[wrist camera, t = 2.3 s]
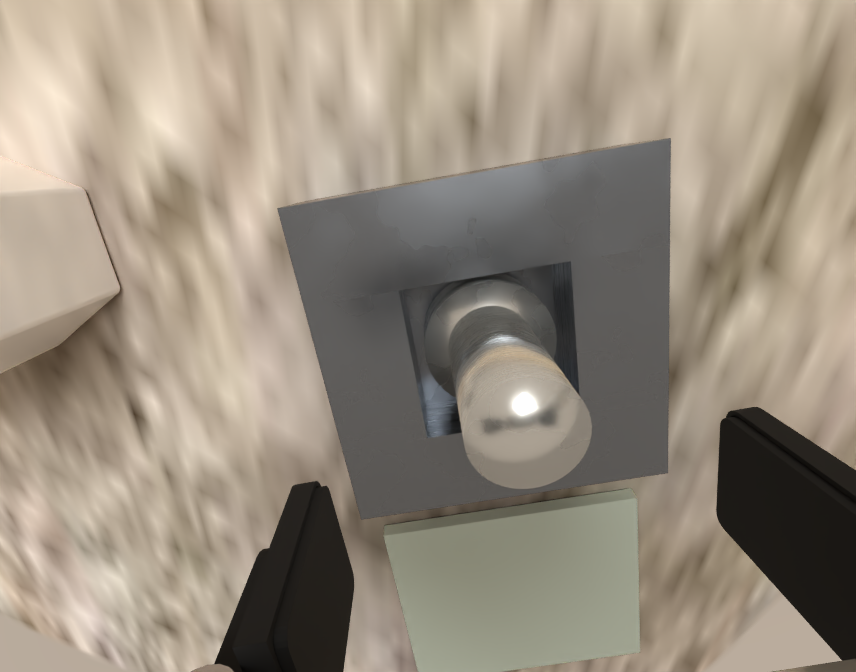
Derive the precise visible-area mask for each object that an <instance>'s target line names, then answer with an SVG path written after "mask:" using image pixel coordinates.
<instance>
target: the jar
mask: <svg viewBox="0 0 856 672" xmlns="http://www.w3.org/2000/svg"><path fill="white" fill-rule="evenodd" d="M119 291H120V285H119V282H118V280H117V277H116V274H115V272H114V269H113V266H112V263H111V261H110V258H109V255H108V252H107V250H106V247H105V244H104V241H103V238H102V236H101V233H100V230H99V227H98V225H97V222H96V219H95V216H94V213H93V211H92V208H91V205H90V202H89V199H88V196H87V194H86V191H85V190H84V189H83V188H81V187H79V186H77V185H74V184H72V183H69V182H67V181H64V180H61V179H59V178H56V177H54V176H51V175H49V174H46V173H44V172H41V171H39V170H36V169H33V168H31V167H28V166H26V165H23V164H21V163H18V162H16V161H13V160H11V159H8V158H5V157H3V156H0V374H1V373H3V372H5V371H7V370H9V369H11V368H13V367H16V366H18V365H20V364H22V363H24V362H26V361H28V360H30V359H32V358H34V357H36V356H38V355H40V354H42V353H44V352H46V351H49V350H51V349H53V348H55V347H57V346H59V345H60V344H61V343H62V342H63V341H64V340H66V339H67V338H68V337H69V336H70V335H71V334H72V333H73V332H75V331H76V330H77V329H78V328H79V327H80V326H81V325H82V324H84V323H85V322H86V321H87V320H88V319H89V318H90V317H91V316H93V315H94V314H95V313H96V312H97V311H98V310H99V309H101V308H102V307H103V306H104V305H105V304H106V303H107V302H109V301H110V300H111V299H112V298H113V297H114V296H115V295H117V294H118V293H119Z"/></svg>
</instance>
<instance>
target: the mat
mask: <svg viewBox="0 0 856 672" xmlns="http://www.w3.org/2000/svg"><path fill="white" fill-rule="evenodd" d="M384 540H385V544H386V548H387V552H388V556H389V560H390V563H391V567H392V571H393V575H394V579H395V583H396V587H397V591H398V595H399V599H400V603H401V607H402V611H403V615H404V619H405V623H406V627H407V631H408V634H409V638H410V642H411V646H412V650H413V654H414V658H415V662H416V666H417V670H418V672H503V671H511V670H518V669H525V668H532V667H540V666H547V665H554V664H561V663H569V662H576V661H583V660H590V659H598V658H605V657H612V656H619V655H627V654H634V653H640V617H639V564H638V511H637V497H636V495H635V494H634V492H633V491H632V489H631V488H630V489H623V490H617V491H610V492H603V493H597V494H590V495H583V496H577V497H570V498H564V499H557V500H550V501H544V502H537V503H531V504H524V505H517V506H511V507H504V508H498V509H491V510H484V511H478V512H471V513H464V514H458V515H451V516H445V517H438V518H431V519H425V520H418V521H412V522H405V523H398V524H392V525H385V526H384Z"/></svg>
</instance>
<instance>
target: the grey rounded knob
mask: <svg viewBox="0 0 856 672" xmlns="http://www.w3.org/2000/svg"><path fill="white" fill-rule="evenodd" d="M556 345H557V335H556V328H555V325H554V321H553V319H552V317H551V315H550V312H549V311H548V309H547V308H546V306H545V305H544V304H543V303H542V302H541V301H540V299H539V298H538V297H537V296H536V295H535V294H534V293H533V292H532V291H531V290H530V289H529V288H528V287H527V286H526V285H524V284H523V283H522V282H520V281H519V280H517V279H516V278H513V277H511V276H509V275H506V274H502V273H498V274H492V275H487V276H481V277H475V278H469V279H463V280H457V281H453V282H451V283H450V284H449V285H447V286H446V287H445V288H444V289H443V290H442V291H440V293H439V294H438V295H437V296H436V297H435V299H434V301H433V302H432V304H431V306H430V308H429V310H428V312H427V316H426V319H425V325H424V346H425V357H426V361H427V365H428V367H429V370H430V372H431V374H432V376H433V377H434V379H435V380H436V382H437V383H438V384H439V385H440V386H441V387H442V388H443V389H444V390H445V391H446V392H448V393H449V394H450V395H452V396H453V397H455V398H456V400H457V406H458V412H459V417H460V423H461V429H462V435H463V441H464V447H465V451H466V454H467V456H468V459H469V461H470V462H471V464H472V465H473V467H474V468H475V469H476V470H477V471H478V472H479V473H480V474H481V475H482V476H483V477H485V478H486V479H488V480H489V481H491V482H493V483H495V484H498V485H501V486H504V487H508V488H514V489H530V488H537V487H542V486H545V485H548V484H550V483H553V482H555V481H557V480H559V479H560V478H562V477H564V476H565V475H567V474H568V473H569V472H570V471H571V470H573V469H574V468H575V467H576V466H577V464H578V463H579V462H580V461H581V459H582V458H583V456H584V455H585V453H586V451H587V449H588V446H589V443H590V440H591V434H592V423H591V417H590V414H589V411H588V409H587V407H586V405H585V403H584V402H583V400H582V399H581V397H580V396H579V395H578V393H577V392H576V390H575V389H574V388H573V386H572V385H571V383H570V382H569V381H568V379H567V378H566V376H565V375H564V374H563V372H562V371H561V370H560V368H559V367H558V365H557V364H556V363H555V361H554V356H555V352H556Z"/></svg>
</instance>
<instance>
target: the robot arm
mask: <svg viewBox="0 0 856 672" xmlns="http://www.w3.org/2000/svg"><path fill="white" fill-rule="evenodd" d="M716 511H717V517H718V520H719V522H720V524H721V526H722V527H723V528H724V530H725V531H726V532H727V533H728V534H729V535H730V536H731V537H732V539H733V540H734V541H735V542H736V543H737V544H738V545H739V546H740V547H741V549H742V550H743V551H744V552H745V553H746V554H747V555H748V556H749V557H750V559H751V560H752V561H753V562H754V563H755V564H756V565H757V566H758V567H759V569H760V570H761V571H762V572H763V573H764V574H765V575H766V576H767V577H768V579H769V580H770V581H771V582H772V583H773V584H774V585H775V586H776V587H777V589H778V590H779V591H780V592H781V593H782V594H783V595H784V596H785V597H786V599H788V601H789V602H790V603H791V604H792V605H793V606H794V607H795V609H797V610H798V612H799V613H800V614H801V615H802V616H803V617H804V618H805V620H806V621H807V622H808V623H809V624H810V625H811V626H812V627H813V628H814V630H815V631H816V632H817V633H818V634H819V635H820V636H821V637H822V638H823V640H824V641H825V642H826V643H827V644H828V645H829V646H830V647H831V648H832V650H833V651H834V652H835V653H836V654H837V655H838V656H839V657H840V659H841V660H842V661H838V662H832V663H825V664H818V665H812V666H806V667H799V668H793V669H786V670H780V671H773V672H856V470H854V469H853V468H851V467H850V466H848V465H847V464H845V463H844V462H842V461H840V460H839V459H837V458H836V457H834V456H833V455H831V454H830V453H828V452H827V451H825V450H824V449H822V448H821V447H819V446H818V445H816V444H814V443H813V442H811V441H810V440H808V439H807V438H805V437H804V436H802V435H801V434H799V433H798V432H796V431H795V430H793V429H792V428H790V427H788V426H787V425H785V424H784V423H782V422H781V421H779V420H778V419H776V418H775V417H773V416H772V415H770V414H769V413H767V412H766V411H764V410H762V409H761V408H758V407H751V408H745V409H739V410H734V411H730V412H728V414H727V416H726V418H724V419H723V420H722V421H721V424H720V444H719V465H718V487H717V508H716ZM353 593H354V576H353V571H352V567H351V564H350V560H349V557H348V553H347V550H346V547H345V543H344V540H343V536H342V533H341V529H340V526H339V522H338V519H337V515H336V512H335V508H334V505H333V501H332V498H331V494H330V491H329V488H328V487H327V486H323V487H321V485H320V483H319V482H318V481H315V482H309V483H303V484H297V485H294V486H293V487H292V489H291V491H290V494H289V497H288V499H287V502H286V505H285V507H284V510H283V513H282V515H281V518H280V521H279V523H278V526H277V529H276V531H275V534H274V537H273V539H272V542H271V545H270V548H268V549H263V550H262V551H260V552H259V554H258V556H257V558H256V560H255V563H254V565H253V568H252V570H251V573H250V575H249V578H248V580H247V583H246V585H245V588H244V590H243V593H242V596H241V598H240V601H239V603H238V606H237V608H236V611H235V613H234V616H233V618H232V621H231V623H230V626H229V628H228V631H227V633H226V636H225V638H224V641H223V643H222V646H221V648H220V651H219V653H218V656H217V658H216V661H215V663H214V664H212V665H206V666H203V667H200V668H198V669H195V670H193V671H191V672H343V669H344V662H345V654H346V646H347V639H348V631H349V623H350V616H351V608H352V600H353Z"/></svg>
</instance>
